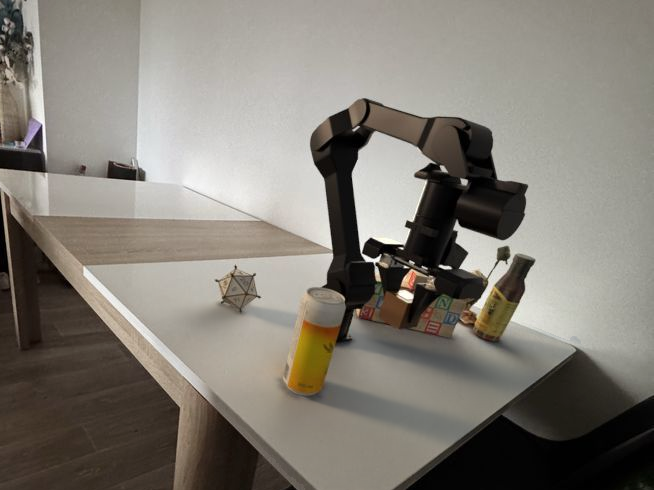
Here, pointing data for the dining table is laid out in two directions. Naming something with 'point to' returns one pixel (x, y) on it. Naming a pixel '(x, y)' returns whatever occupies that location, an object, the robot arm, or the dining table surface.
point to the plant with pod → (470, 316)
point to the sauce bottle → (503, 299)
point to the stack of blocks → (434, 318)
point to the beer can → (314, 340)
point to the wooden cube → (397, 309)
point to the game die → (238, 288)
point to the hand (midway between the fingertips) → (399, 316)
